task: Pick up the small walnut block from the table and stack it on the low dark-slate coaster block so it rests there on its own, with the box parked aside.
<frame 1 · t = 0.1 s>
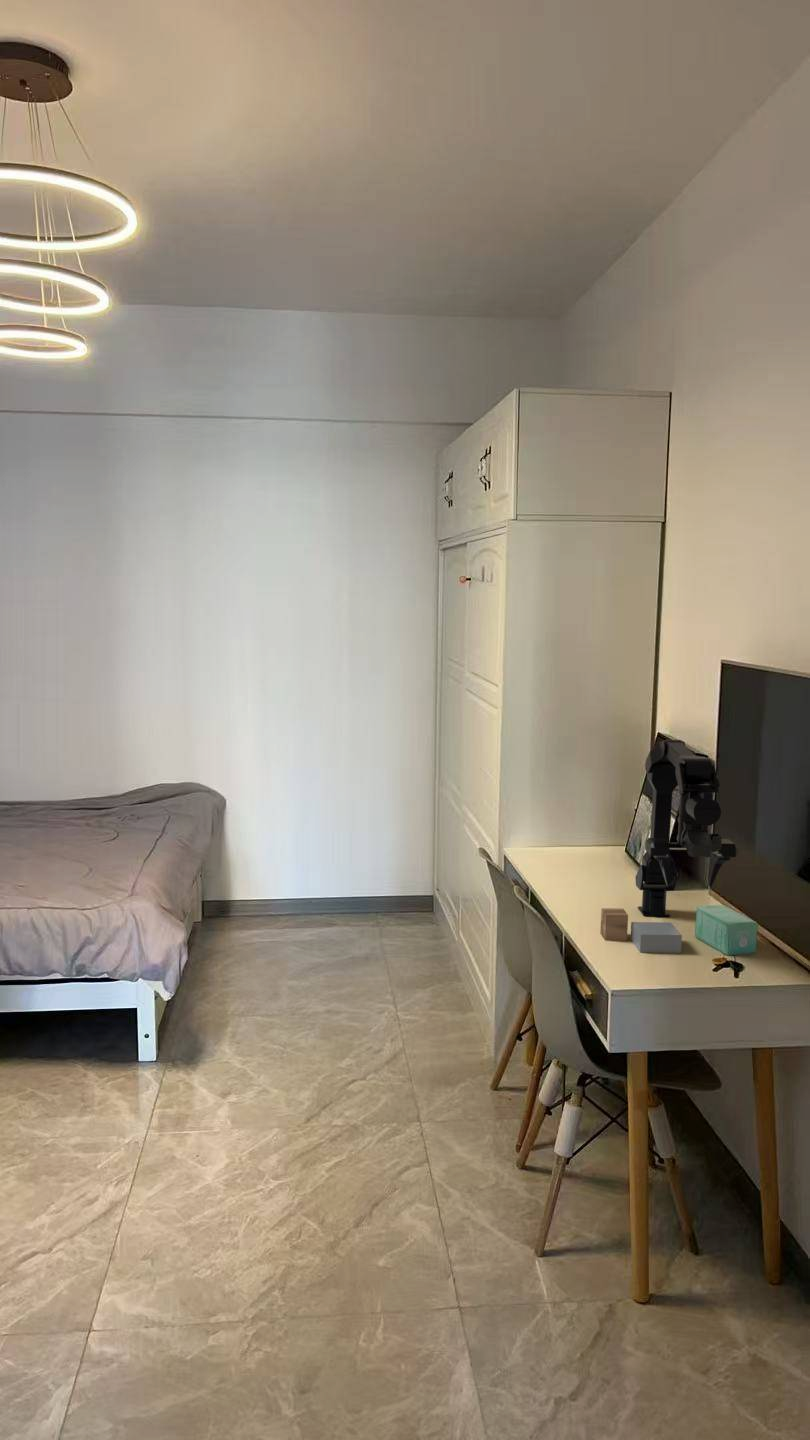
hand: (688, 886, 236), 15 cm above the table, fingers open, 9 cm apart
block: (613, 937, 246), on the table
box: (724, 946, 242), on the table
base: (655, 945, 240), on the table
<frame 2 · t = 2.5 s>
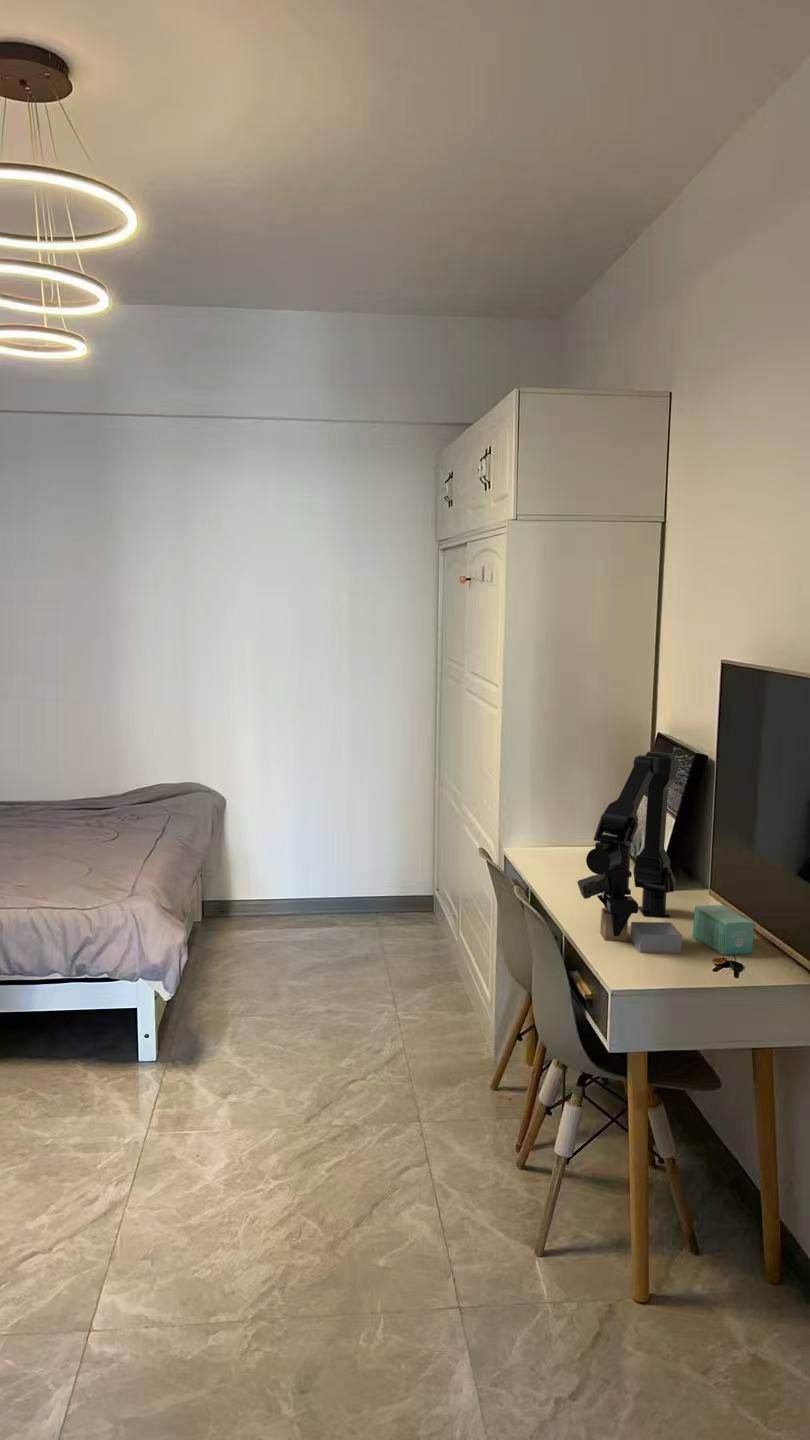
hand: (613, 932, 246), 1 cm above the table, fingers closed on block, 5 cm apart
block: (613, 936, 246), on the table, touching gripper
when the fingers open (6 cm above the table, at t = 5.9 s): block stays where it is, resting on base.
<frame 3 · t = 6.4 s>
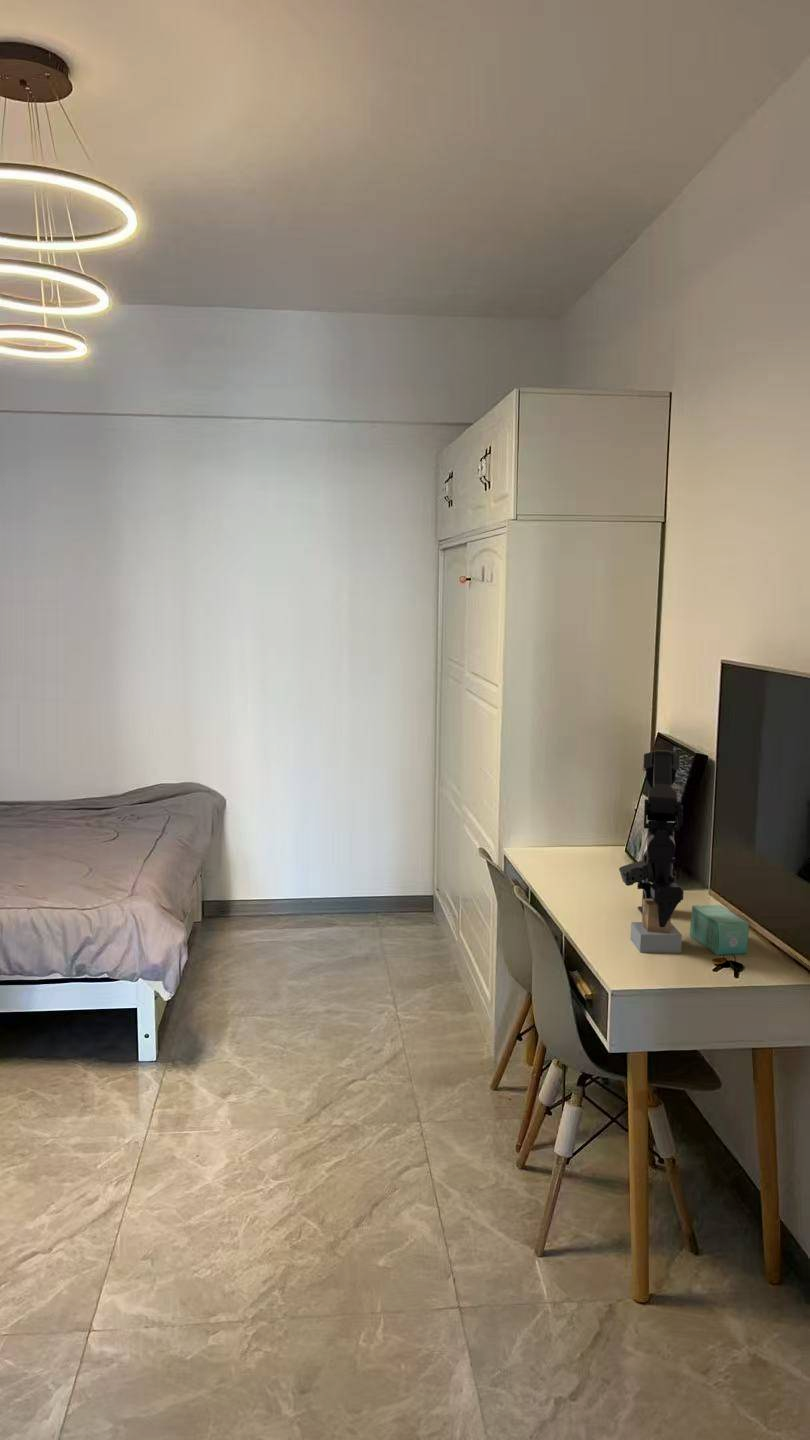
hand: (656, 920, 240), 6 cm above the table, fingers open, 9 cm apart
block: (655, 928, 240), point 4 cm above the table, touching base
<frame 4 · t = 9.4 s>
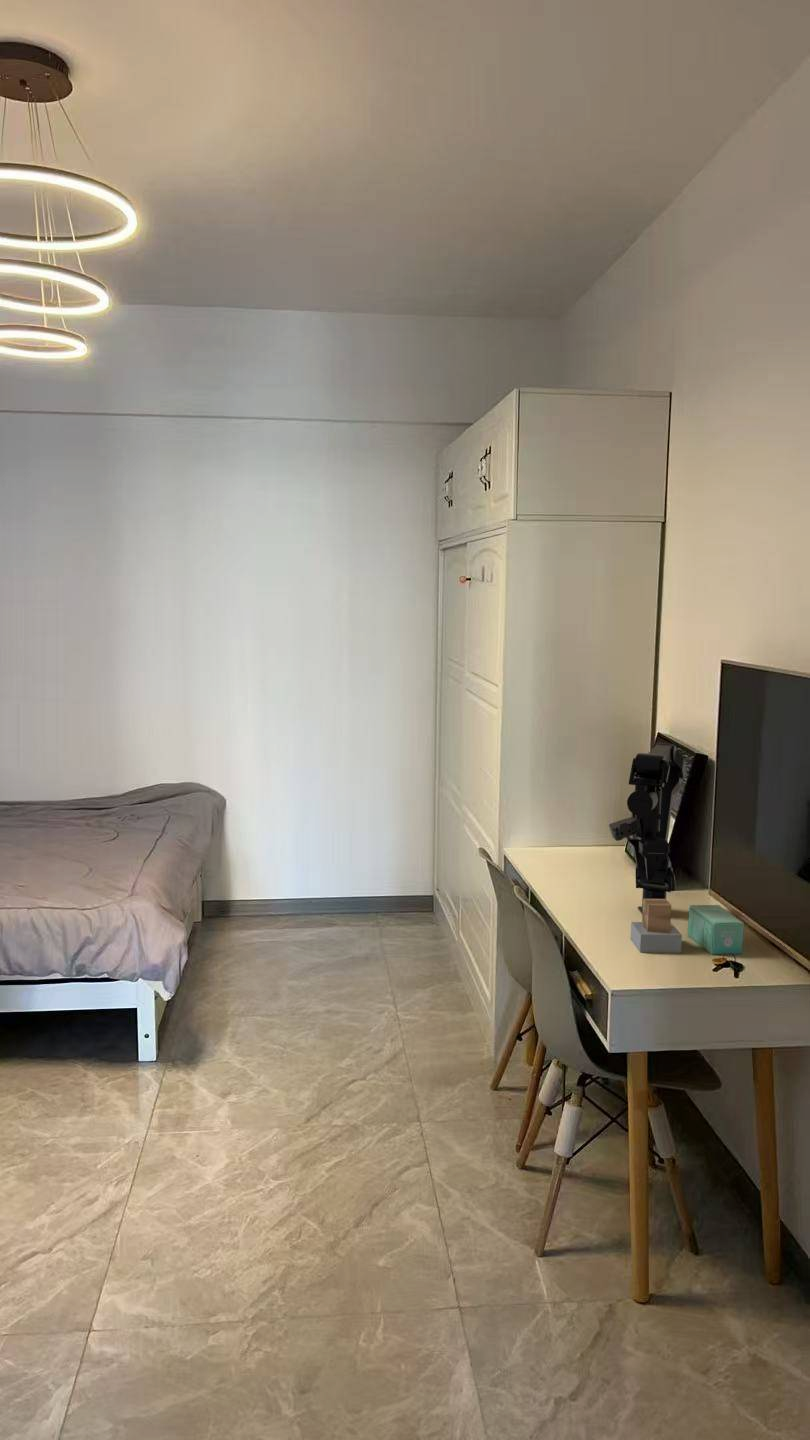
hand: (644, 874, 251), 13 cm above the table, fingers open, 9 cm apart
at the end: block inside the target area on the base (0.0 cm from its centre), point 4.0 cm above the base's base; block tilted 0°; the gripper is holding nothing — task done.
